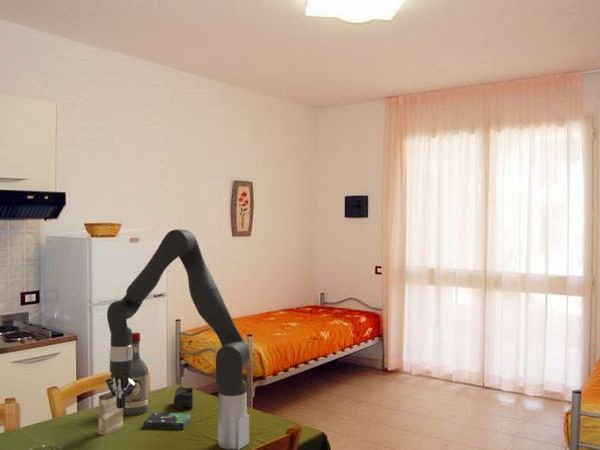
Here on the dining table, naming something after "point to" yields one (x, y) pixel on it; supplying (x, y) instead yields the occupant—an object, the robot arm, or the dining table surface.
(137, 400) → the liquor
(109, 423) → the birch tile
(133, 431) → the dining table surface
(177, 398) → the end cap
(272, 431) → the dining table surface
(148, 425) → the disk drive
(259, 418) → the dining table surface
